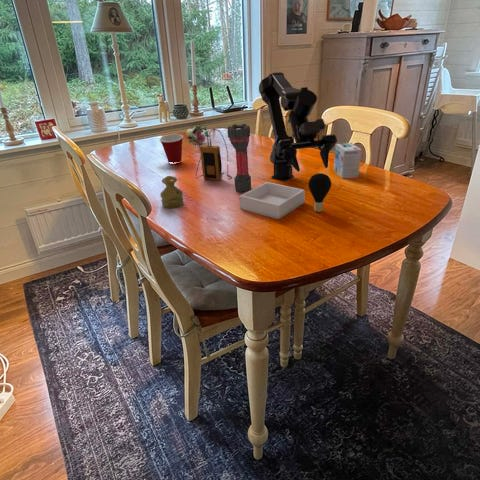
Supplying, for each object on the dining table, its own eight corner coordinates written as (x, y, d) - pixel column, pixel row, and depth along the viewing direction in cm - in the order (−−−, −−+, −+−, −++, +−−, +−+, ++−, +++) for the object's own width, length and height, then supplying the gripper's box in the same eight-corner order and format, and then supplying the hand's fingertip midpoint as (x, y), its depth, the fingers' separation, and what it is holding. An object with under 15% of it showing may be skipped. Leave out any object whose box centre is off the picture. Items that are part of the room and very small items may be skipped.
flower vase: (198, 149, 216) (213, 149, 184) (177, 146, 212) (189, 145, 179) (201, 129, 214) (216, 125, 181) (180, 125, 209) (192, 121, 177)
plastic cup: (158, 165, 165) (154, 139, 160) (171, 159, 174) (167, 133, 168) (179, 167, 162) (175, 140, 156) (190, 160, 170) (187, 134, 165)
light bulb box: (333, 170, 146) (335, 143, 141) (349, 168, 147) (351, 142, 142) (341, 178, 137) (344, 150, 132) (359, 177, 137) (362, 149, 132)
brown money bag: (174, 210, 120) (169, 181, 115) (157, 206, 123) (152, 178, 118) (188, 202, 125) (184, 174, 120) (172, 199, 129) (167, 171, 124)
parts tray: (240, 208, 118) (239, 195, 116) (267, 194, 128) (266, 181, 126) (278, 219, 109) (278, 205, 107) (304, 202, 119) (304, 189, 117)
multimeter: (238, 173, 149) (235, 123, 139) (227, 181, 141) (223, 129, 132) (207, 170, 155) (202, 122, 145) (195, 178, 147) (189, 128, 137)
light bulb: (329, 216, 109) (332, 178, 103) (306, 215, 111) (308, 177, 105) (329, 207, 115) (331, 170, 109) (307, 206, 116) (309, 170, 111)
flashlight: (237, 195, 128) (233, 129, 117) (228, 189, 134) (223, 125, 123) (256, 190, 131) (254, 125, 120) (246, 184, 137) (243, 122, 126)
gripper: (278, 112, 107) (290, 159, 103) (336, 107, 110) (351, 151, 106) (270, 134, 117) (281, 177, 113) (324, 128, 121) (337, 170, 116)
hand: (312, 169), depth 112 cm, fingers open, 9 cm apart
